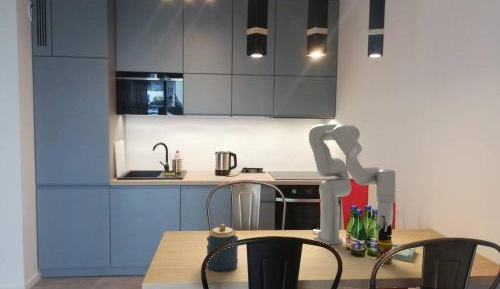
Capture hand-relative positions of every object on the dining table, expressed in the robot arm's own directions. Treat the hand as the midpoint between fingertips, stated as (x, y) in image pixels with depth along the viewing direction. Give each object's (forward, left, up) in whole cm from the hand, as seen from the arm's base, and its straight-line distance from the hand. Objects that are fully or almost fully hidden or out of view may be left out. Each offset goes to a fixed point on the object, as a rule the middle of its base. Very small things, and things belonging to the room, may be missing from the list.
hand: (385, 237), depth 151 cm
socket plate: (+2, +14, -11) cm, 18 cm away
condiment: (-1, 0, -11) cm, 11 cm away
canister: (-56, -43, -11) cm, 71 cm away
